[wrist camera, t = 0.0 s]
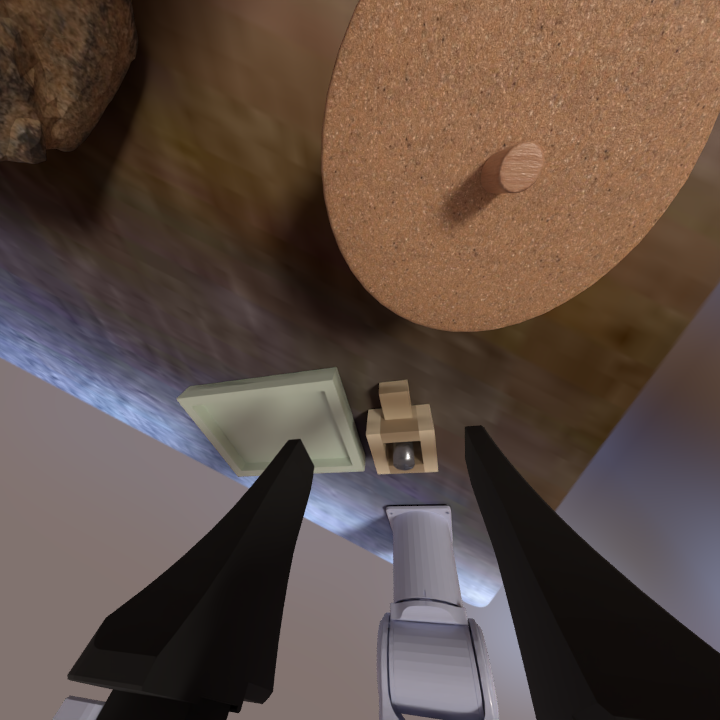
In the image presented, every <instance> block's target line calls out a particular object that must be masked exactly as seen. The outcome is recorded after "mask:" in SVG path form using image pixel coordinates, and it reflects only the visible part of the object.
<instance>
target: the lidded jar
mask: <svg viewBox="0 0 720 720" xmlns="http://www.w3.org/2000/svg"><path fill="white" fill-rule="evenodd" d="M719 111H720V0H359V2H358V4H357V6H356V8H355V10H354V13H353V15H352V18H351V20H350V23H349V25H348V28H347V31H346V33H345V36H344V38H343V41H342V43H341V46H340V48H339V51H338V54H337V58H336V62H335V66H334V69H333V73H332V77H331V81H330V85H329V88H328V92H327V98H326V105H325V112H324V120H323V127H322V143H321V172H322V182H323V192H324V200H325V204H326V209H327V213H328V217H329V221H330V226H331V229H332V231H333V234H334V236H335V239H336V242H337V244H338V247H339V250H340V252H341V254H342V255H343V257H344V259H345V261H346V262H347V264H348V266H349V268H350V270H351V271H352V273H353V274H354V275H355V277H356V278H357V279H358V281H359V282H360V283H361V284H362V286H363V287H364V288H365V289H366V290H367V291H368V292H369V293H370V294H371V295H372V296H373V297H374V298H375V299H376V300H377V301H378V302H379V303H380V304H382V305H383V306H385V307H386V308H388V309H389V310H391V311H392V312H393V313H395V314H396V315H398V316H400V317H403V318H405V319H407V320H409V321H411V322H413V323H415V324H419V325H422V326H425V327H429V328H432V329H438V330H445V331H451V332H477V331H485V330H493V329H498V328H502V327H506V326H510V325H514V324H518V323H520V322H523V321H526V320H528V319H531V318H534V317H536V316H539V315H541V314H544V313H546V312H548V311H549V310H551V309H553V308H555V307H557V306H559V305H561V304H563V303H565V302H566V301H568V300H570V299H571V298H573V297H574V296H576V295H577V294H579V293H581V292H582V291H584V290H585V289H587V288H588V287H590V286H591V285H593V284H594V283H595V282H596V281H597V280H599V279H600V278H601V277H602V276H603V275H605V274H606V273H607V272H608V271H610V270H611V269H612V268H613V267H614V266H616V265H617V264H618V263H619V262H620V261H621V260H622V259H623V258H624V257H625V256H626V255H627V254H628V253H629V252H630V251H631V250H632V249H633V248H634V247H635V246H636V245H637V244H638V243H639V242H640V241H641V240H642V239H643V238H644V237H645V235H646V234H647V233H648V232H649V230H650V229H651V228H652V227H653V226H654V224H655V223H656V222H657V221H658V219H659V218H660V217H661V216H662V215H663V213H664V212H665V210H666V209H667V208H668V206H669V205H670V203H671V202H672V200H673V199H674V198H675V196H676V195H677V193H678V192H679V190H680V189H681V187H682V186H683V185H684V183H685V182H686V180H687V178H688V177H689V175H690V173H691V171H692V169H693V167H694V165H695V163H696V161H697V159H698V157H699V156H700V154H701V152H702V150H703V148H704V146H705V144H706V142H707V140H708V138H709V135H710V133H711V130H712V128H713V126H714V123H715V121H716V118H717V116H718V114H719Z"/></svg>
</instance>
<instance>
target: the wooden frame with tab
mask: <svg viewBox="0 0 720 720" xmlns="http://www.w3.org/2000/svg"><path fill="white" fill-rule="evenodd" d="M379 397H380V401H381V406H382V408H380V409H370V410H368V419H367V429H366V437H367V440H368V443H369V447H370V450H371V453H372V456H373V460H374V463H375V466H376V469H377V473H378V474H395V473H419V472H438V464H437V454H436V444H435V433H434V426H433V421H432V416H431V410H430V405H429V404H423V405H412V406H411V401H410V394H409V388H408V381H407V380H400V381H391V382H383V383H379ZM408 441H413V449H414V460H415V466H414V467H413V468H412V469H410V470H406V471H403V470H399V469H397V468H395V467H394V465H393V442H408Z"/></svg>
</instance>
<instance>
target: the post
mask: <svg viewBox="0 0 720 720" xmlns="http://www.w3.org/2000/svg"><path fill="white" fill-rule="evenodd" d="M393 465H394V467H395V468H397V469H399V470H403V471H406V470H410V469H412V468H413V467H414V466H415V460H414V449H413V441H408V442H393Z"/></svg>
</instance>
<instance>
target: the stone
mask: <svg viewBox="0 0 720 720" xmlns="http://www.w3.org/2000/svg"><path fill="white" fill-rule="evenodd" d="M138 40H139V39H138V35H137V30H136V26H135V21H134V13H133V7H132V2H131V0H0V161H8V160H9V161H14V162H21V163H30V164H37V163H40V162H43V161H46V160H47V157H46V150H47V149H58V150H61V151H64V152H70V151H73V150H75V149H76V148H77V147H78V146H79V145H81V144H82V143H83V142H84V141H85V140H86V139H87V138H88V136H89V135H90V133H91V132H92V130H93V129H94V128H95V126H96V125H97V123H98V121H99V119H100V118H101V116H102V114H103V113H104V111H105V109H106V107H107V105H108V104H109V103H110V102H111V101H112V100H113V98H114V96H115V94H116V93H117V91H118V89H119V87H120V85H121V83H122V81H123V79H124V77H125V75H126V73H127V71H128V69H129V66H130V63H131V61H133V60H134V59H135V58H136V53H137V48H138Z"/></svg>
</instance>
